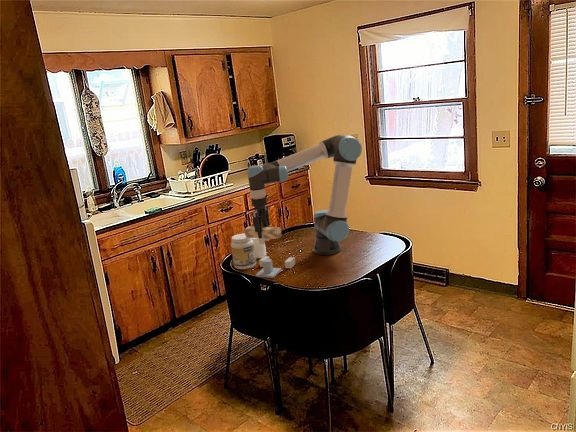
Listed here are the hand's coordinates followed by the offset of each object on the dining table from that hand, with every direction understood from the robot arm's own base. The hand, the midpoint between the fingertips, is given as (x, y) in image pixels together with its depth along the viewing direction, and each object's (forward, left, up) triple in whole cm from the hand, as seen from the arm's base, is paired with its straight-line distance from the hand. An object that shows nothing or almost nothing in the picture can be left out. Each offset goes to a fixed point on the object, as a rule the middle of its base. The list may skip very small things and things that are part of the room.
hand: (264, 242), depth 234 cm
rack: (0, -11, -17) cm, 20 cm away
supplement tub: (+18, -8, -17) cm, 26 cm away
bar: (0, 0, +3) cm, 3 cm away
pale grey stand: (0, 0, -17) cm, 17 cm away
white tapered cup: (+16, -22, -17) cm, 32 cm away
